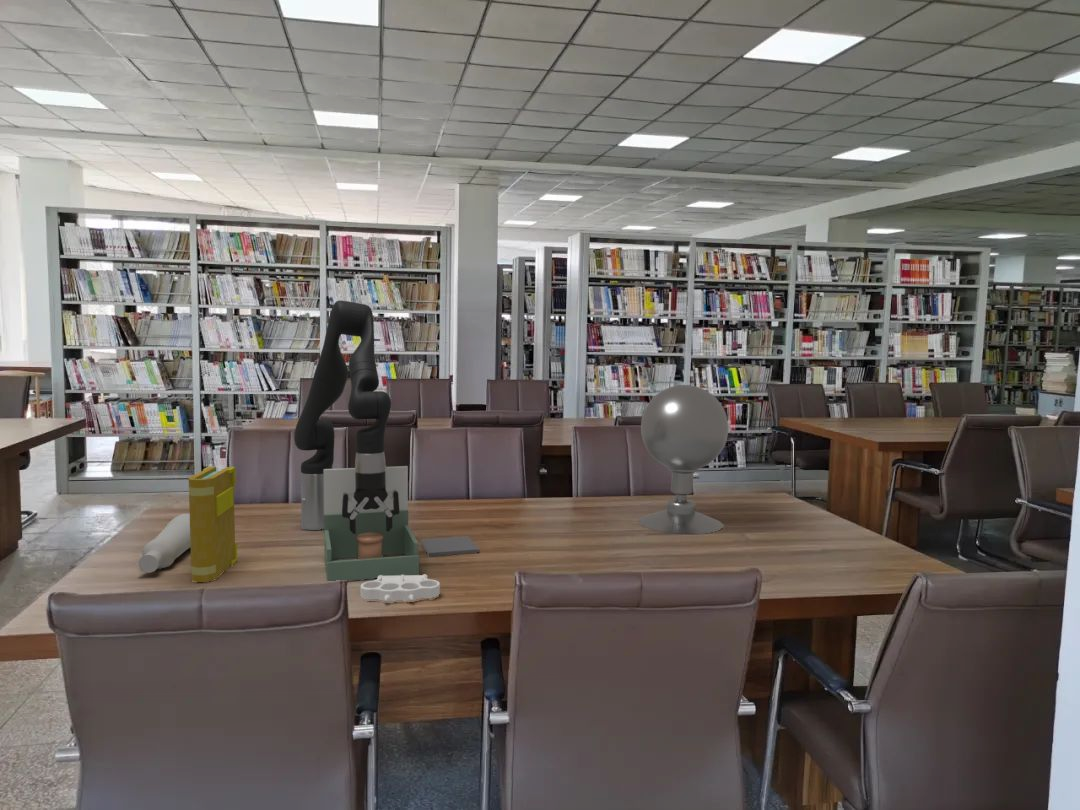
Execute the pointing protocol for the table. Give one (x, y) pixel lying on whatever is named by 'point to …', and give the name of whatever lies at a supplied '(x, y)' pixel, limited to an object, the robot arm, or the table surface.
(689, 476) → the desk lamp
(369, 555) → the pot
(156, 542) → the bottle
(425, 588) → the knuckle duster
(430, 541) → the slate pad
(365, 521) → the box
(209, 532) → the book
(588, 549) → the table surface
